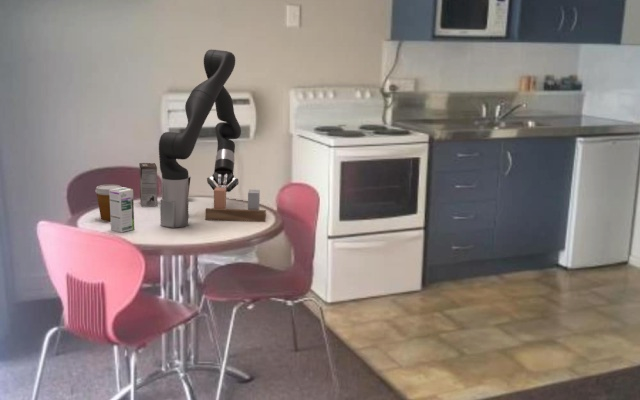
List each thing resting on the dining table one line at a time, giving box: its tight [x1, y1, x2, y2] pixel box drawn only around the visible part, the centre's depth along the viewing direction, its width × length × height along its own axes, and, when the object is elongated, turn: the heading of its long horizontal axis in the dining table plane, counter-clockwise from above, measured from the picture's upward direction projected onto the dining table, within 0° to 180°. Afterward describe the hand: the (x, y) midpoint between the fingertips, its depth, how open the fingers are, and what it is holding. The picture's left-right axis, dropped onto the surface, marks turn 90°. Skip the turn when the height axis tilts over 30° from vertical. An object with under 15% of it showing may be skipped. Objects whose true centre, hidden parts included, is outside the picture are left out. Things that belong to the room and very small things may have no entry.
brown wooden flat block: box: [204, 207, 267, 223], centre depth 256 cm, size 12×22×4 cm, turn 92°
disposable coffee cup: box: [94, 184, 122, 222], centre depth 245 cm, size 10×10×12 cm
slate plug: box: [247, 189, 261, 210], centre depth 255 cm, size 6×4×10 cm, turn 2°
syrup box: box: [109, 186, 135, 234], centre depth 231 cm, size 6×6×14 cm
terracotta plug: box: [213, 186, 227, 209], centre depth 257 cm, size 6×4×10 cm, turn 2°
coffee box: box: [139, 162, 158, 208], centre depth 269 cm, size 9×6×16 cm
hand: (220, 199), depth 260 cm, fingers closed
